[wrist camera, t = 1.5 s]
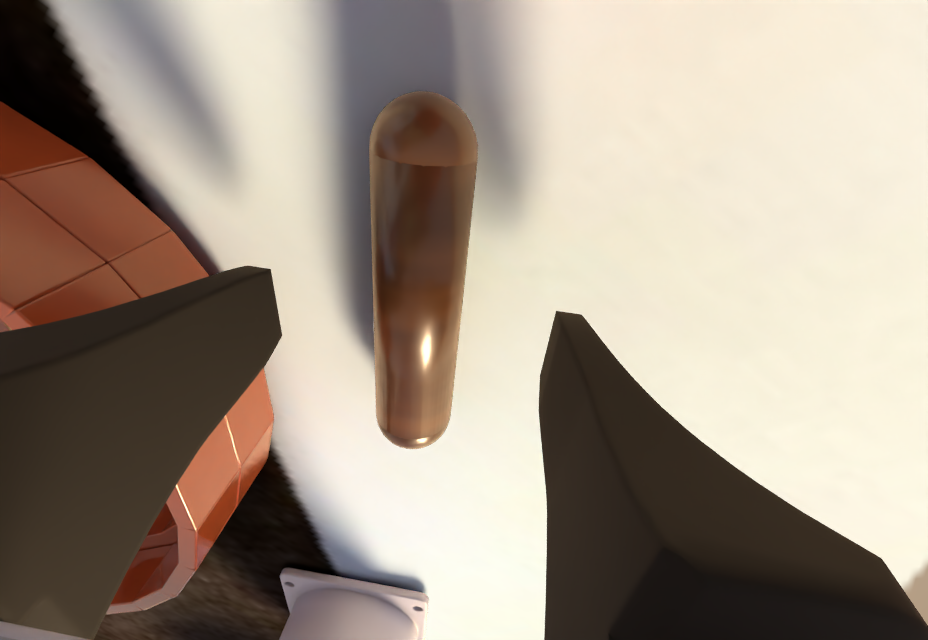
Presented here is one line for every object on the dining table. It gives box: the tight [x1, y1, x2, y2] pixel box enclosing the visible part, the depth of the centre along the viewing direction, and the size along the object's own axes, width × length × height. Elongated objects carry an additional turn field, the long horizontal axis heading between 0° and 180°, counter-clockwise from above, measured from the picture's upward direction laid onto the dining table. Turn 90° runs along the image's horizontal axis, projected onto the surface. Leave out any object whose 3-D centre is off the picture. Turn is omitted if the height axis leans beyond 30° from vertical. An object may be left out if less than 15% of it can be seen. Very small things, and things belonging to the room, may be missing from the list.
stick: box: [369, 91, 478, 449], centre depth 12 cm, size 10×2×2 cm, turn 175°
